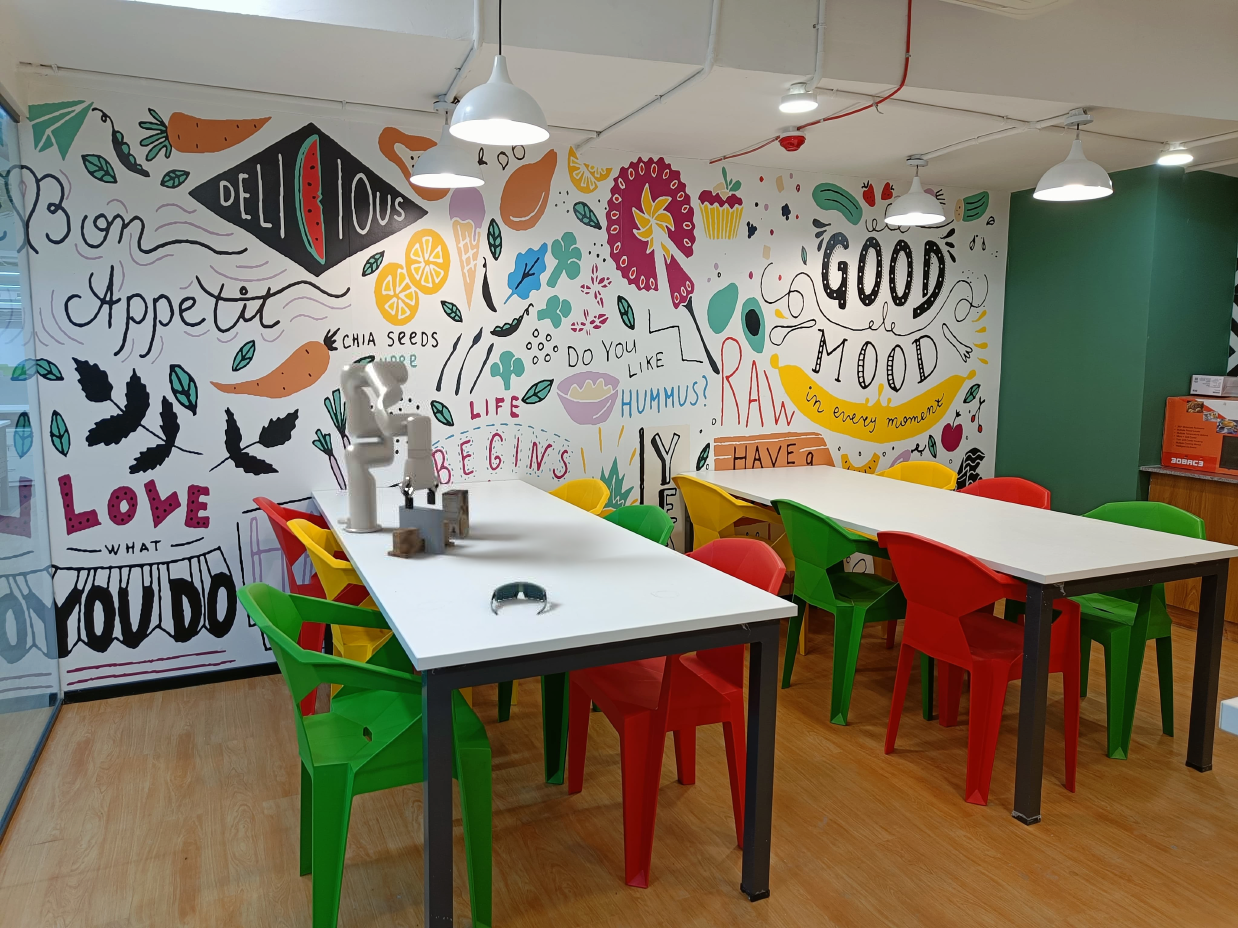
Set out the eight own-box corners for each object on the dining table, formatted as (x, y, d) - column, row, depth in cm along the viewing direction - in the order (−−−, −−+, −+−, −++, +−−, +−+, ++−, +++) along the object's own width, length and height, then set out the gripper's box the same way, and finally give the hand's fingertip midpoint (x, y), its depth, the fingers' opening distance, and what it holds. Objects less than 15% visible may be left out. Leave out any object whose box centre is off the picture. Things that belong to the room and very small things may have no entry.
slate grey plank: (444, 552, 274) (443, 509, 272) (438, 554, 272) (437, 511, 270) (406, 546, 283) (405, 504, 281) (400, 547, 280) (398, 506, 279)
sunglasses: (548, 598, 225) (548, 580, 224) (545, 623, 211) (545, 604, 209) (494, 598, 224) (494, 580, 223) (488, 623, 210) (487, 604, 209)
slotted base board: (405, 558, 266) (404, 533, 265) (387, 555, 270) (386, 530, 269) (454, 545, 284) (454, 522, 283) (437, 542, 289) (436, 519, 288)
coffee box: (452, 533, 304) (451, 488, 301) (469, 534, 302) (469, 489, 300) (442, 538, 295) (441, 492, 293) (459, 539, 293) (459, 493, 291)
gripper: (430, 450, 283) (431, 501, 285) (390, 456, 268) (391, 509, 271) (447, 452, 279) (447, 504, 281) (407, 458, 264) (408, 512, 267)
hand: (420, 506), depth 276 cm, fingers open, 9 cm apart
